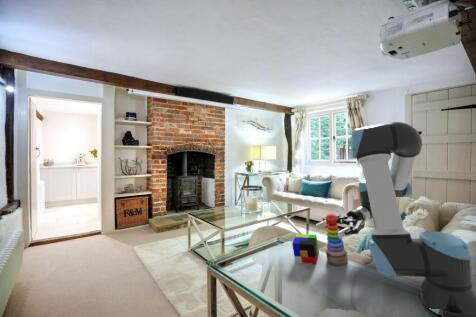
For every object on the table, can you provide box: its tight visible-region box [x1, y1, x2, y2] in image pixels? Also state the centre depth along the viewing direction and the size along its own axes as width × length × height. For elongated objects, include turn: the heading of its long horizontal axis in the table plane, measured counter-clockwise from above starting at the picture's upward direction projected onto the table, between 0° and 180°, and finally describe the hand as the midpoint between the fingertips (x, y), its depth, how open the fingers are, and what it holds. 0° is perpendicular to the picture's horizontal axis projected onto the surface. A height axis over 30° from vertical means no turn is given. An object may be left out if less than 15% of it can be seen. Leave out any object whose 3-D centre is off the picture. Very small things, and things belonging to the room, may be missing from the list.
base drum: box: [325, 250, 349, 267], centre depth 111 cm, size 9×9×4 cm
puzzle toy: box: [291, 233, 320, 265], centre depth 118 cm, size 10×10×10 cm
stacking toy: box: [325, 213, 346, 256], centre depth 110 cm, size 8×8×19 cm
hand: (327, 231), depth 108 cm, fingers open, 12 cm apart
